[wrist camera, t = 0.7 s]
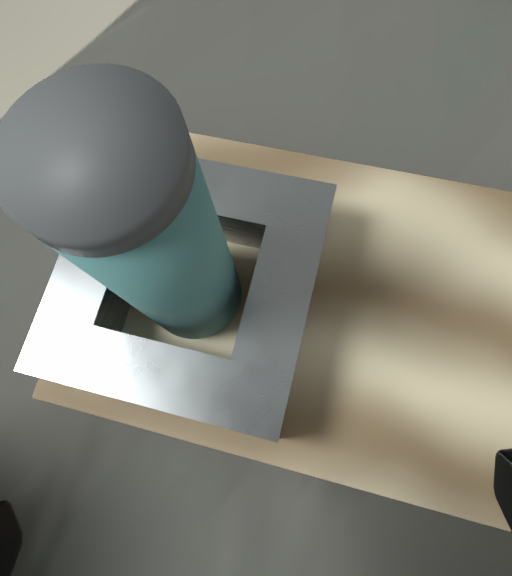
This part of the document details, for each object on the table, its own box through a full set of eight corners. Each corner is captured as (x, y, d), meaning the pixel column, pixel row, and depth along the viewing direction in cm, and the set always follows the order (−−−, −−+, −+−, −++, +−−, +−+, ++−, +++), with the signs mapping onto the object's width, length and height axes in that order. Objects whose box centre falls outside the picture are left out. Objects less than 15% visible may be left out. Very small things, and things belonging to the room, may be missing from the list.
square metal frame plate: (279, 438, 19) (277, 442, 16) (52, 377, 20) (13, 370, 18) (330, 215, 22) (337, 184, 19) (127, 174, 23) (104, 140, 20)
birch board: (865, 626, 17) (919, 646, 16) (48, 398, 22) (31, 397, 20) (833, 269, 21) (873, 258, 19) (143, 139, 25) (135, 122, 24)
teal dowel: (227, 349, 20) (150, 261, 9) (138, 326, 21) (-45, 217, 9) (251, 260, 21) (210, 80, 10) (166, 242, 22) (33, 50, 10)
